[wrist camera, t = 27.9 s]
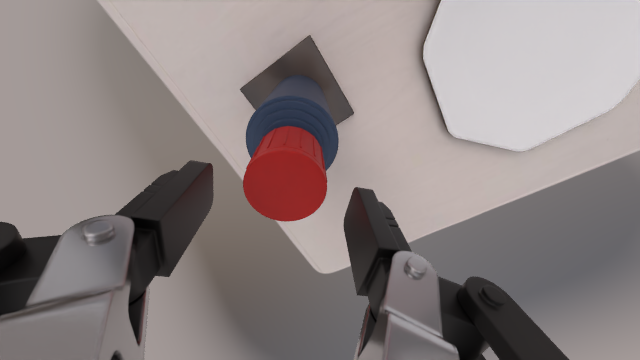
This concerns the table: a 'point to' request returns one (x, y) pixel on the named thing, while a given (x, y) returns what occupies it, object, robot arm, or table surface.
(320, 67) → the coaster
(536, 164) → the table surface
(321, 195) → the cap
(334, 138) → the bottle
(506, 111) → the plate
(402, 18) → the table surface
